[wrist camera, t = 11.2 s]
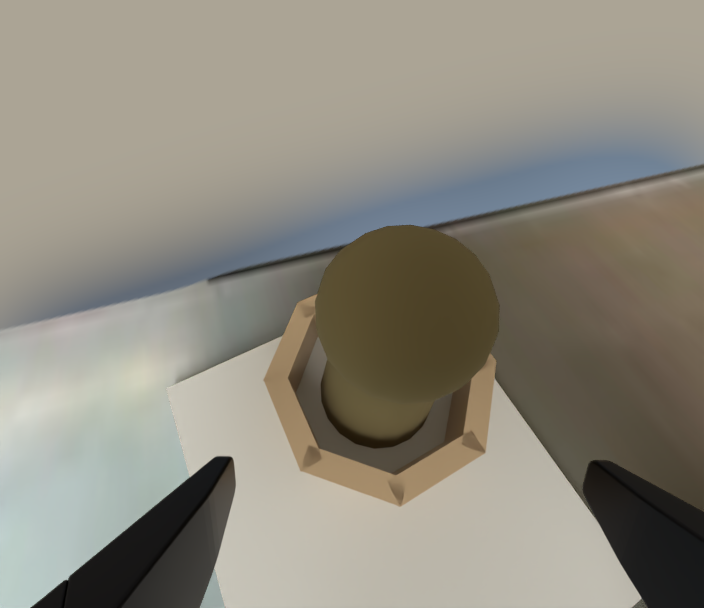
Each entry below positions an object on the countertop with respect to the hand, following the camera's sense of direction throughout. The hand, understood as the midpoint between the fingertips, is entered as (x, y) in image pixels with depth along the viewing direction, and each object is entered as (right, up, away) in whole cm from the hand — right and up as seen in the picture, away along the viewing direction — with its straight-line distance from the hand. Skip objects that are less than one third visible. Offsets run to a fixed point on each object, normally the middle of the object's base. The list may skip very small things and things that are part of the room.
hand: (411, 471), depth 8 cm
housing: (0, -5, +8) cm, 9 cm away
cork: (0, 0, +10) cm, 10 cm away
